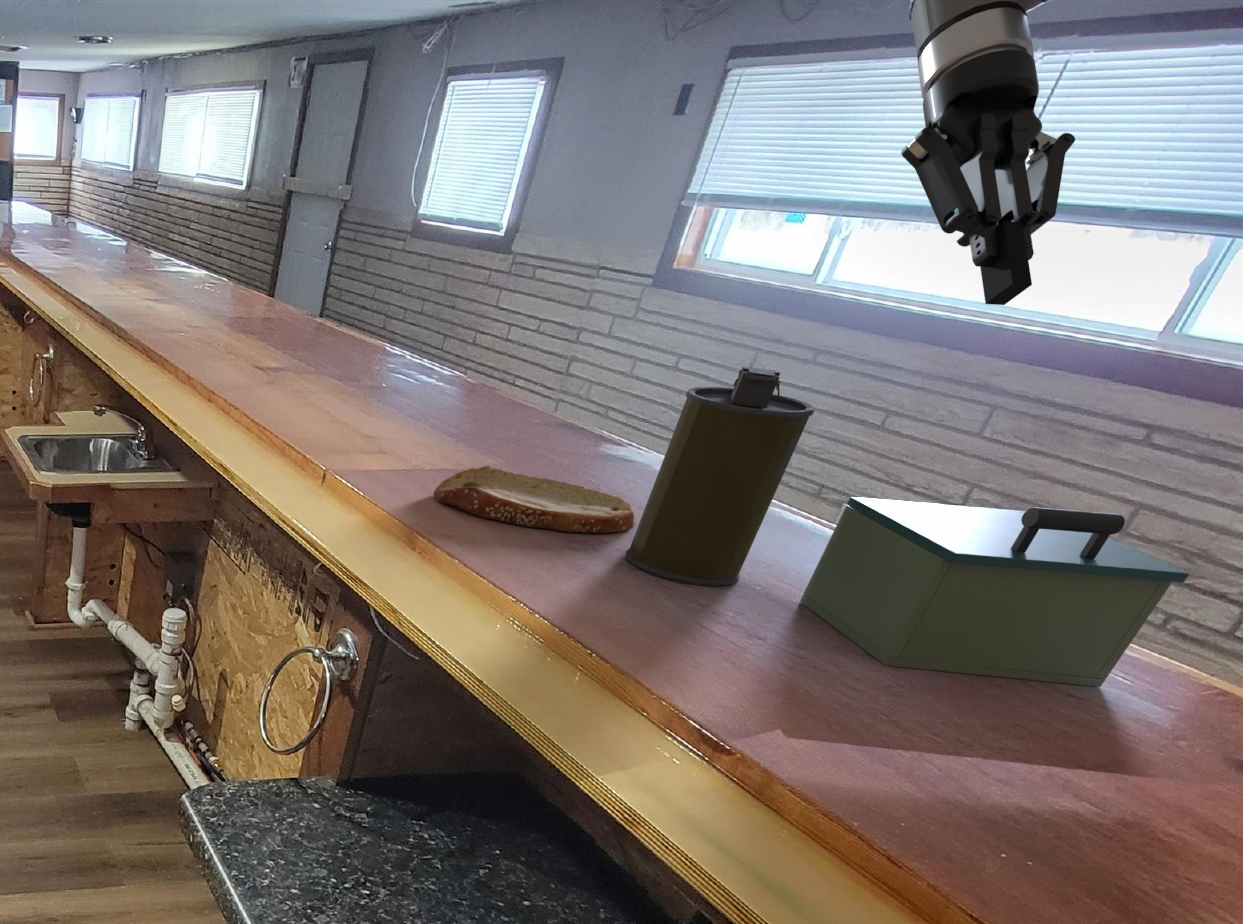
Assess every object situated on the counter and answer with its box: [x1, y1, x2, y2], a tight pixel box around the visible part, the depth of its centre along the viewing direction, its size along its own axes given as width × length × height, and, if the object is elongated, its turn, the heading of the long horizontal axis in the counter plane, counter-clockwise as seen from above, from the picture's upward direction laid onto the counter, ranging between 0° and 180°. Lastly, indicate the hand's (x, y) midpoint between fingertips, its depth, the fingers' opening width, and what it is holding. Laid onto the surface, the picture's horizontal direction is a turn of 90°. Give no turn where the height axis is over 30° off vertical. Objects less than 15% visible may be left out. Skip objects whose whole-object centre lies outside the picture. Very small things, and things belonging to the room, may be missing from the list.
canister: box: [625, 366, 816, 587], centre depth 97 cm, size 11×10×20 cm
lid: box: [846, 496, 1190, 584], centre depth 82 cm, size 14×17×4 cm
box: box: [799, 505, 1173, 688], centre depth 86 cm, size 14×17×10 cm
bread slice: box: [433, 465, 636, 534], centre depth 115 cm, size 18×18×4 cm
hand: (1008, 294), depth 85 cm, fingers closed
